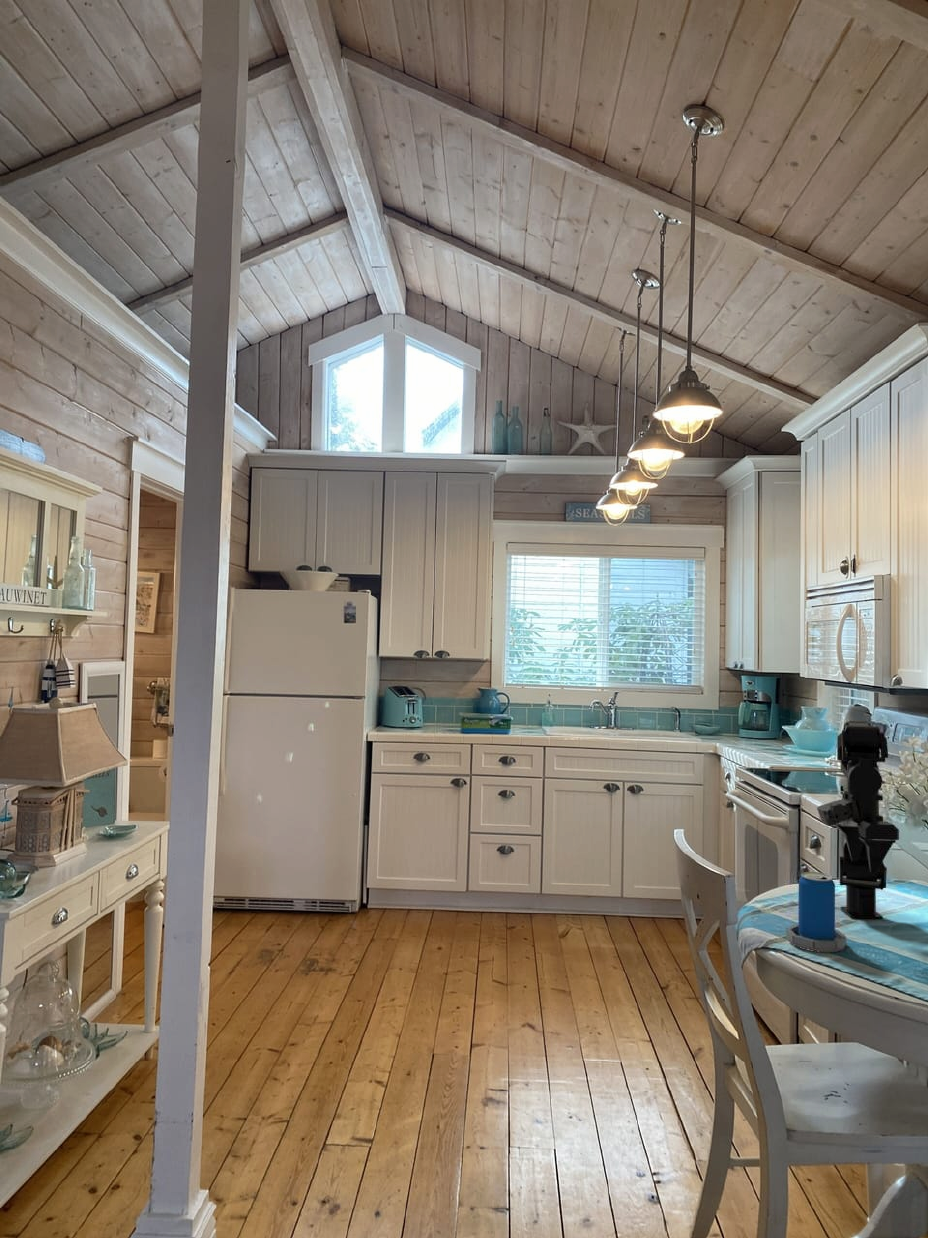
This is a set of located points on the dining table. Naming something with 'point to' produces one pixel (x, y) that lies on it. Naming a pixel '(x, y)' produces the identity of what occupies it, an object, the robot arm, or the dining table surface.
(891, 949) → the dining table surface
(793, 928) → the tray
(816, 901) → the beverage can
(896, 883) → the dining table surface
